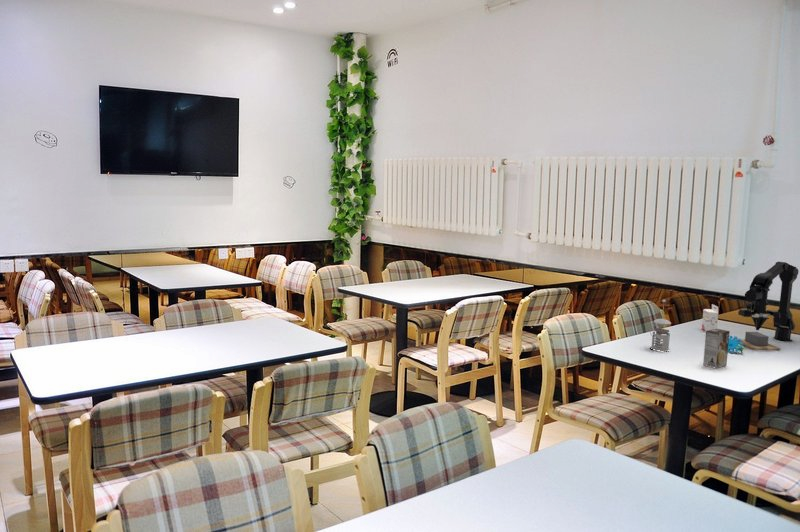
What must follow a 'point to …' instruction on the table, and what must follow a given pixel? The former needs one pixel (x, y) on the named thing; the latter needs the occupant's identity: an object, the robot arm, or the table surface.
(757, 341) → the block
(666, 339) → the french press
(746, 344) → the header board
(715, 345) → the coffee box
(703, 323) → the ink cartridge box
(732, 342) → the gear
